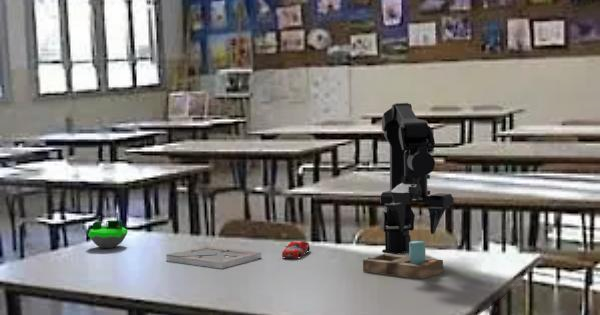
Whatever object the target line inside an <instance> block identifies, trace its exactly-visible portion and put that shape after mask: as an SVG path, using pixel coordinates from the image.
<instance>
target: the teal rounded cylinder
mask: <svg viewBox="0 0 600 315" xmlns="http://www.w3.org/2000/svg"><path fill="white" fill-rule="evenodd" d="M408 252H409V256H410V264H419V265H421V264H422V263H425V258H426V242H425V241H423V240H421V241H420V240H413V241H412V240H411V242H409V251H408Z"/></svg>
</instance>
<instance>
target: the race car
mask: <svg viewBox="0 0 600 315" xmlns="http://www.w3.org/2000/svg"><path fill="white" fill-rule="evenodd" d="M284 248H285V249H283V251H282V253H281V257H282V258H283V257H285V258H284V259H297V258H298V257H300V256H302V255H303V254H304V253H306V252H307V251H309V250H310V251H311V249H310V243H309V242H307V241H305V240H293V241H291V242H289V243H288V245H285V246H284ZM310 251H309V252H310ZM303 256H304V255H303ZM303 256H302V257H303Z"/></svg>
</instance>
